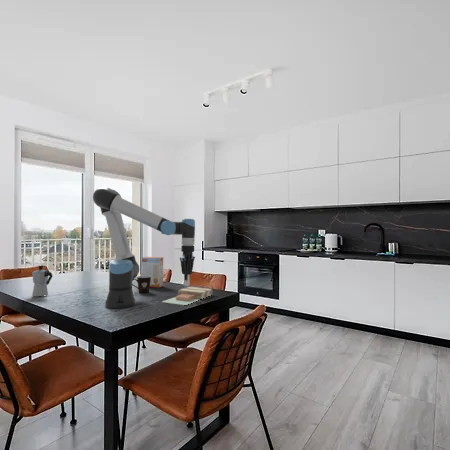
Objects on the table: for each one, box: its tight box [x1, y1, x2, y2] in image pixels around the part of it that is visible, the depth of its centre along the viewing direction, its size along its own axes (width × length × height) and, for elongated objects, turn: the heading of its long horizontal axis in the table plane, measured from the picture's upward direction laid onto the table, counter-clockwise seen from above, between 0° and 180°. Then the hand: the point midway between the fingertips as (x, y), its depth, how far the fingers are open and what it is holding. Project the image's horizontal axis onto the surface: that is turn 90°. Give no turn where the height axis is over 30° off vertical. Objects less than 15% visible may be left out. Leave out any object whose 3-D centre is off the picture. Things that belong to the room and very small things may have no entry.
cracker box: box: [141, 256, 164, 289], centre depth 213 cm, size 14×6×21 cm, turn 74°
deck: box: [177, 286, 213, 300], centre depth 183 cm, size 14×16×4 cm
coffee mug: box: [132, 275, 151, 294], centre depth 193 cm, size 12×9×10 cm
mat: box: [161, 296, 201, 306], centre depth 170 cm, size 15×16×1 cm
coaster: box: [175, 294, 195, 301], centre depth 173 cm, size 8×8×2 cm
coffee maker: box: [31, 265, 53, 297], centre depth 179 cm, size 15×9×18 cm, turn 73°
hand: (186, 285), depth 175 cm, fingers closed
